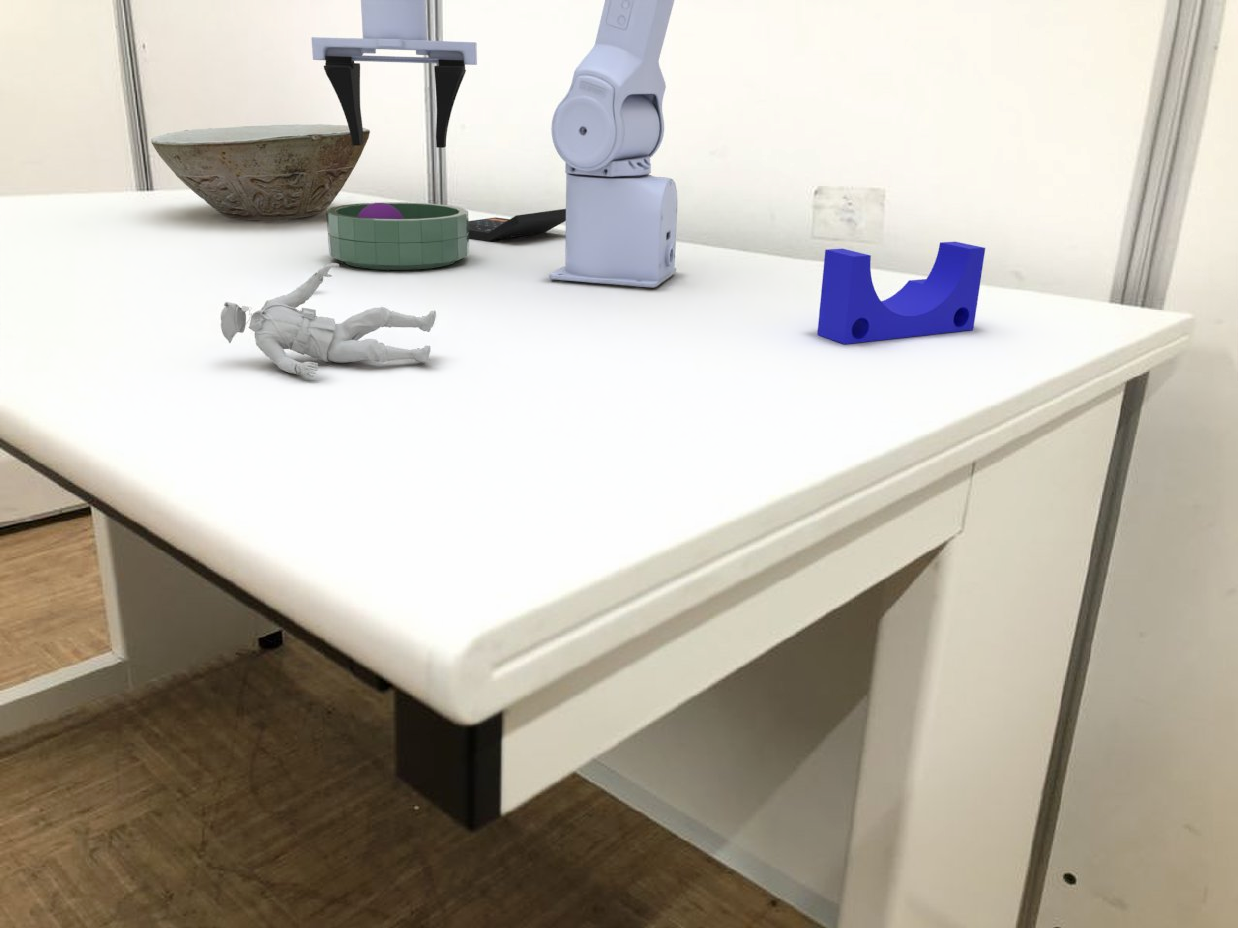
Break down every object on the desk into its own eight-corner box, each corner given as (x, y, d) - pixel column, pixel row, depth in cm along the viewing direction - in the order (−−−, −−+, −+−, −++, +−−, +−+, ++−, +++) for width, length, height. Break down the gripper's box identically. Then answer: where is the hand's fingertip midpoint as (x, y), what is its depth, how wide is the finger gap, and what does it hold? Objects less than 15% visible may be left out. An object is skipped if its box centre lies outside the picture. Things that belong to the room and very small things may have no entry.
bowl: (115, 224, 115) (101, 127, 111) (226, 199, 137) (218, 118, 133) (322, 235, 111) (315, 135, 108) (402, 208, 133) (398, 124, 130)
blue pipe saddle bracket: (930, 317, 82) (940, 238, 80) (973, 329, 79) (985, 247, 76) (804, 329, 77) (812, 246, 75) (844, 344, 73) (853, 256, 71)
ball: (422, 223, 99) (387, 185, 98) (407, 245, 96) (370, 206, 94) (390, 249, 102) (355, 212, 100) (373, 271, 98) (337, 233, 96)
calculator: (495, 225, 122) (495, 198, 121) (575, 236, 116) (576, 208, 115) (437, 233, 115) (436, 205, 114) (519, 245, 109) (519, 216, 108)
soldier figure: (425, 396, 63) (212, 340, 58) (404, 429, 67) (203, 380, 62) (442, 287, 66) (242, 227, 62) (422, 325, 70) (232, 271, 66)
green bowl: (489, 254, 103) (488, 207, 102) (432, 277, 92) (430, 224, 90) (372, 245, 106) (369, 199, 105) (303, 265, 95) (299, 214, 93)
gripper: (300, -20, 90) (311, 147, 95) (472, -14, 91) (475, 151, 96) (316, -14, 97) (326, 141, 102) (477, -9, 98) (479, 145, 103)
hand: (399, 146), depth 99 cm, fingers open, 7 cm apart
